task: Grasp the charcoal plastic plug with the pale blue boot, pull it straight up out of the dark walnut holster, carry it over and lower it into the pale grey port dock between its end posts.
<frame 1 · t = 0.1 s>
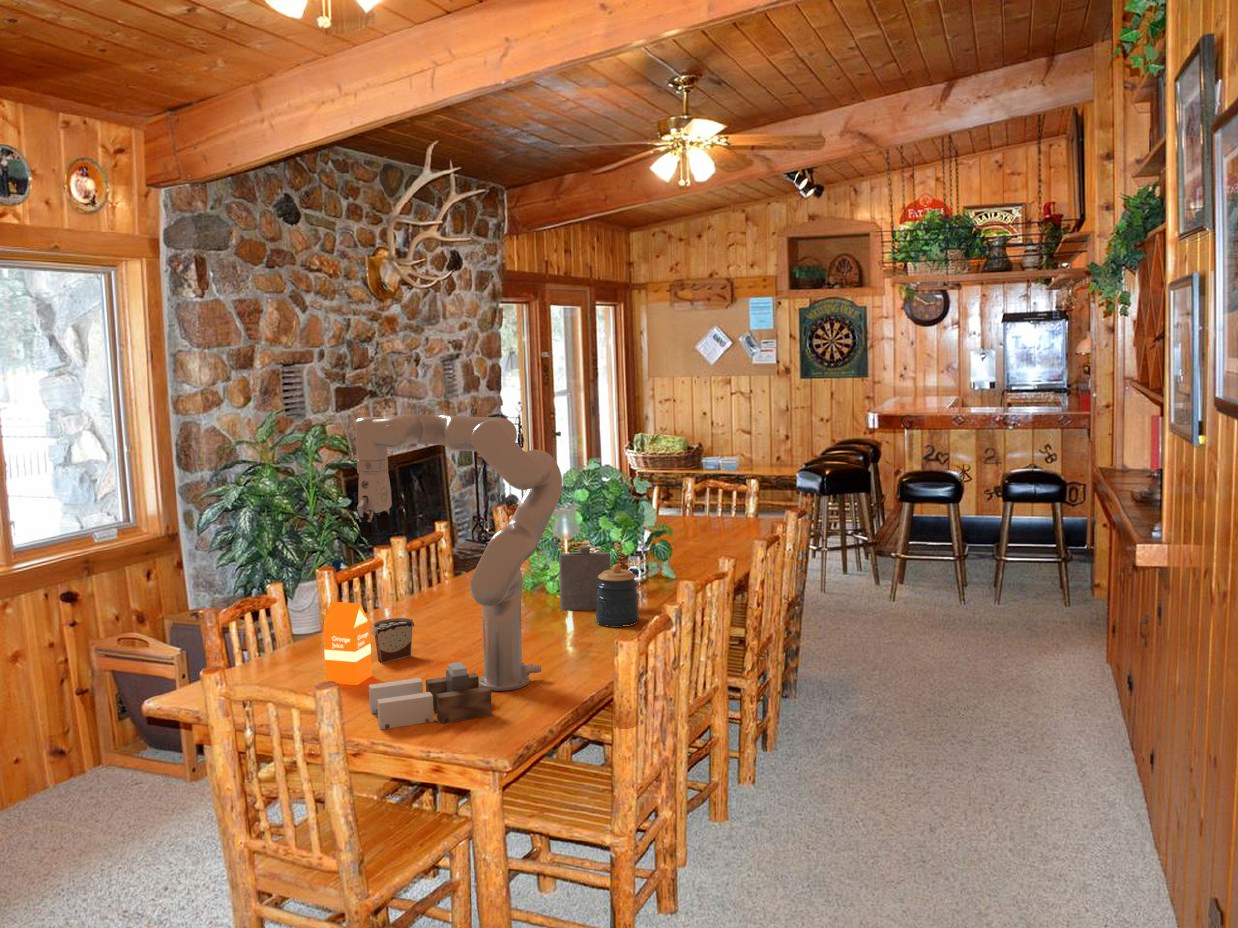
hand: (375, 533, 277), 37 cm above the table, tool pointing down, fingers open, 9 cm apart
hip flask: (585, 609, 345), on the table
canister: (617, 622, 329), on the table
orange juice: (349, 679, 280), on the table
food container: (390, 658, 298), on the table
holster: (458, 709, 256), on the table
plug: (458, 709, 256), resting in holster
dock: (401, 715, 253), on the table
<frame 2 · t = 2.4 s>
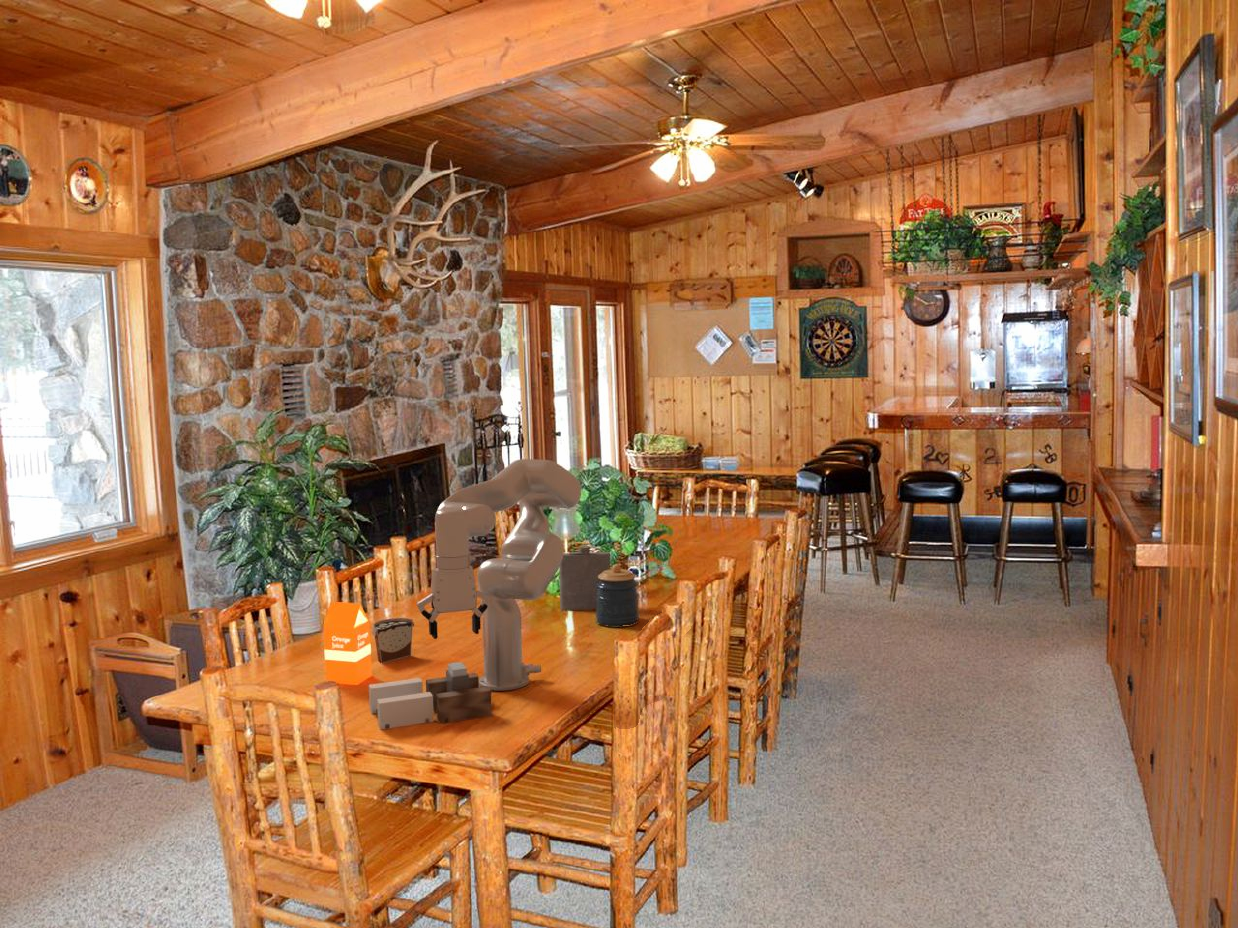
hand: (455, 635, 254), 18 cm above the table, tool pointing down, fingers open, 9 cm apart
nothing on the table moved.
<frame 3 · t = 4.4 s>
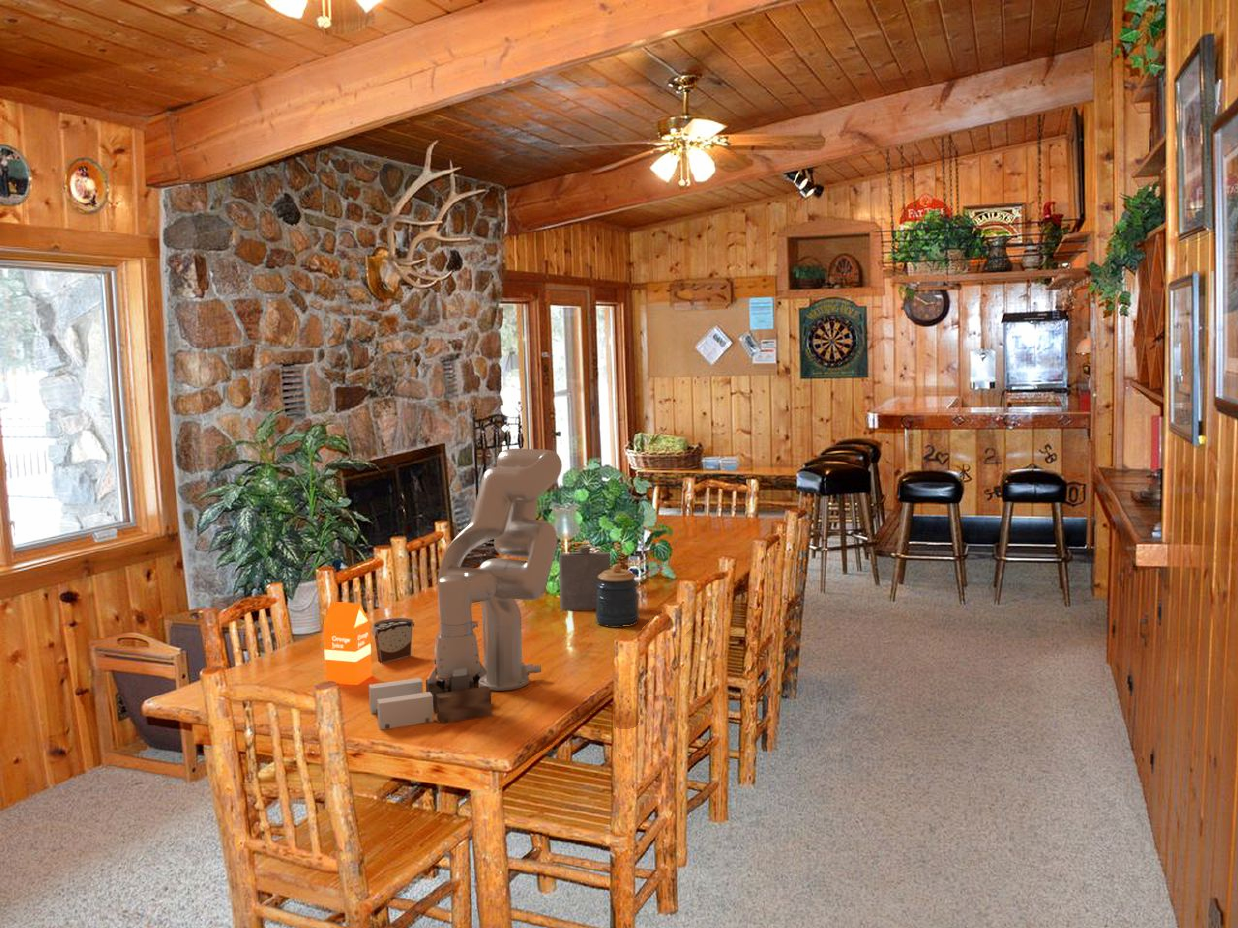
hand: (458, 704, 256), 1 cm above the table, tool pointing down, fingers closed on plug, 4 cm apart
plug: (458, 709, 256), resting in holster, touching gripper
everything else where it was.
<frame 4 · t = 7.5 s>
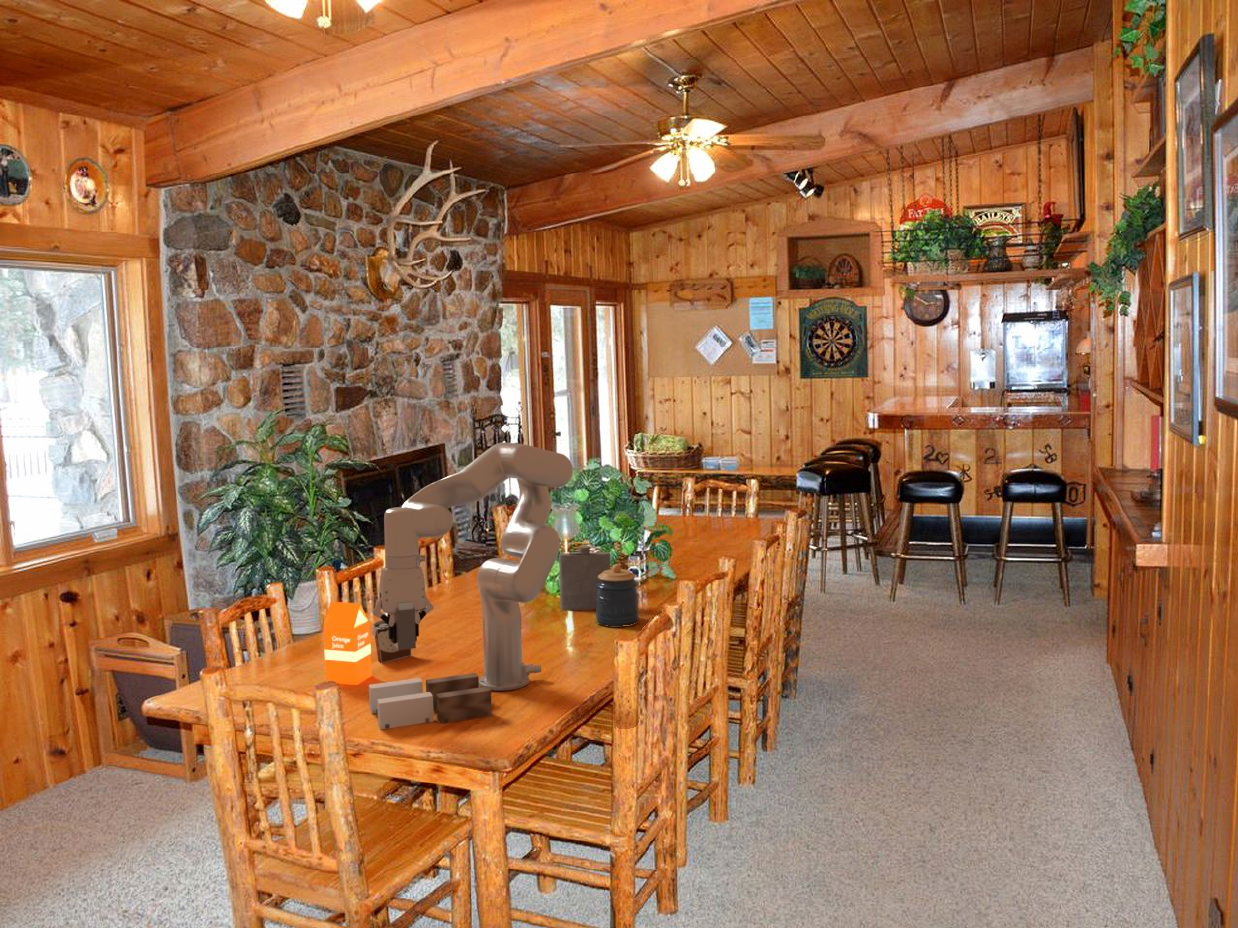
hand: (403, 640, 251), 18 cm above the table, tool pointing down, fingers closed on plug, 4 cm apart
plug: (404, 645, 251), point 17 cm above the table, touching gripper
everything else where it was.
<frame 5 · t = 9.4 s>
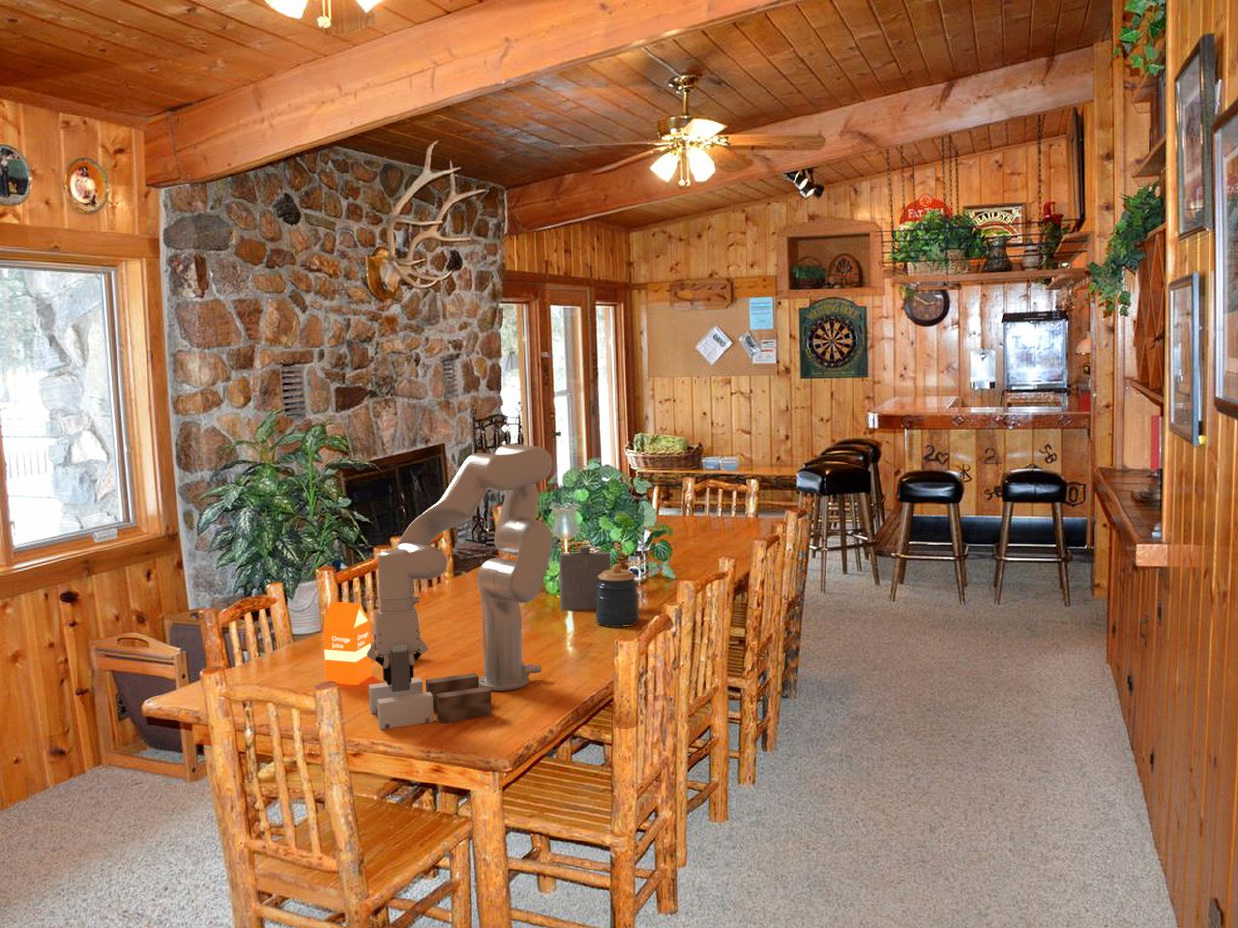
hand: (398, 681, 252), 8 cm above the table, tool pointing down, fingers closed on plug, 4 cm apart
plug: (398, 686, 252), point 7 cm above the table, touching gripper
everything else where it was.
when the fingers open (3 cm above the table, at t = 10.8 s): plug drops 1 cm, resting in dock.
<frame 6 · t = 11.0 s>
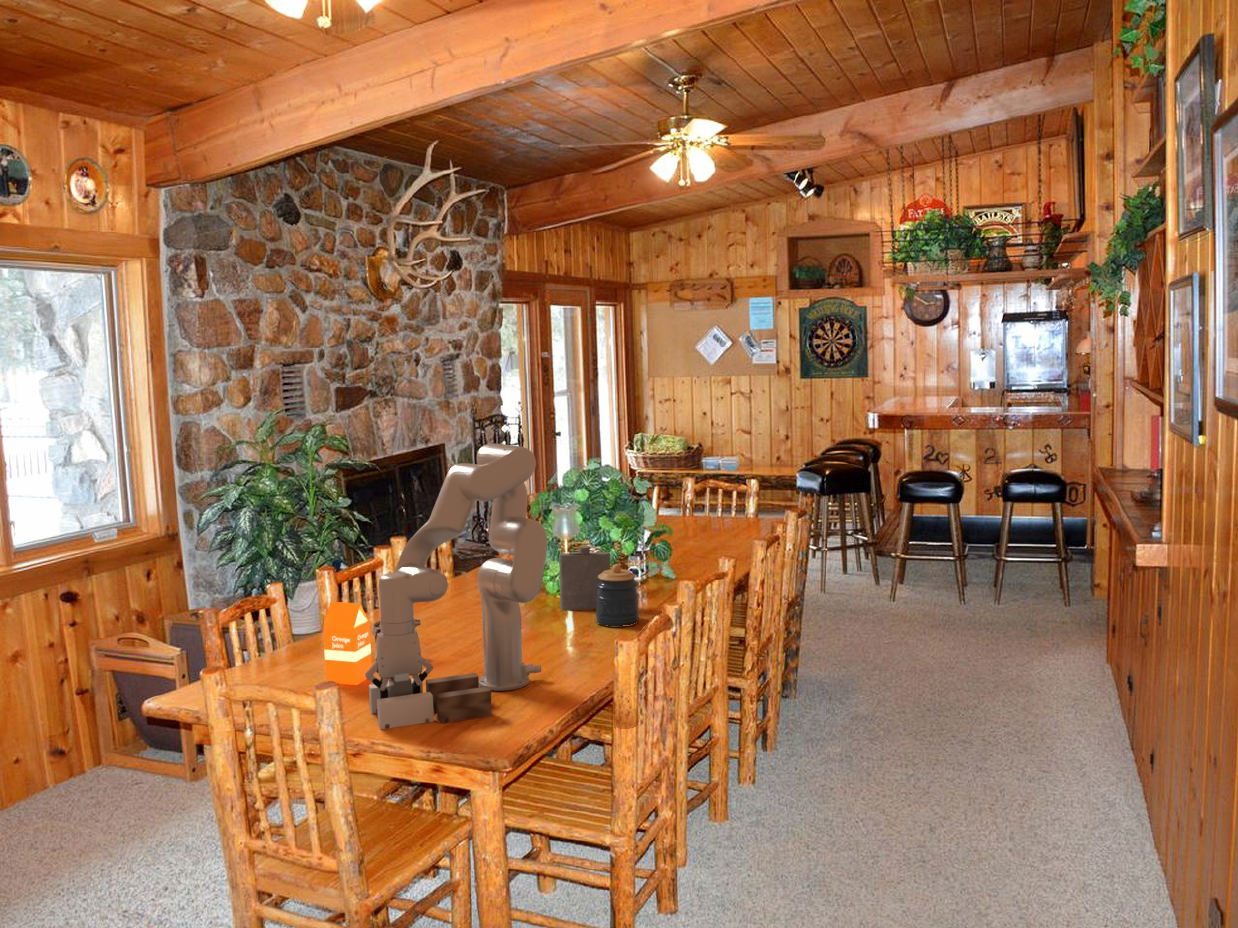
hand: (400, 702, 253), 3 cm above the table, tool pointing down, fingers open, 6 cm apart
plug: (401, 715, 253), resting in dock
everything else where it was.
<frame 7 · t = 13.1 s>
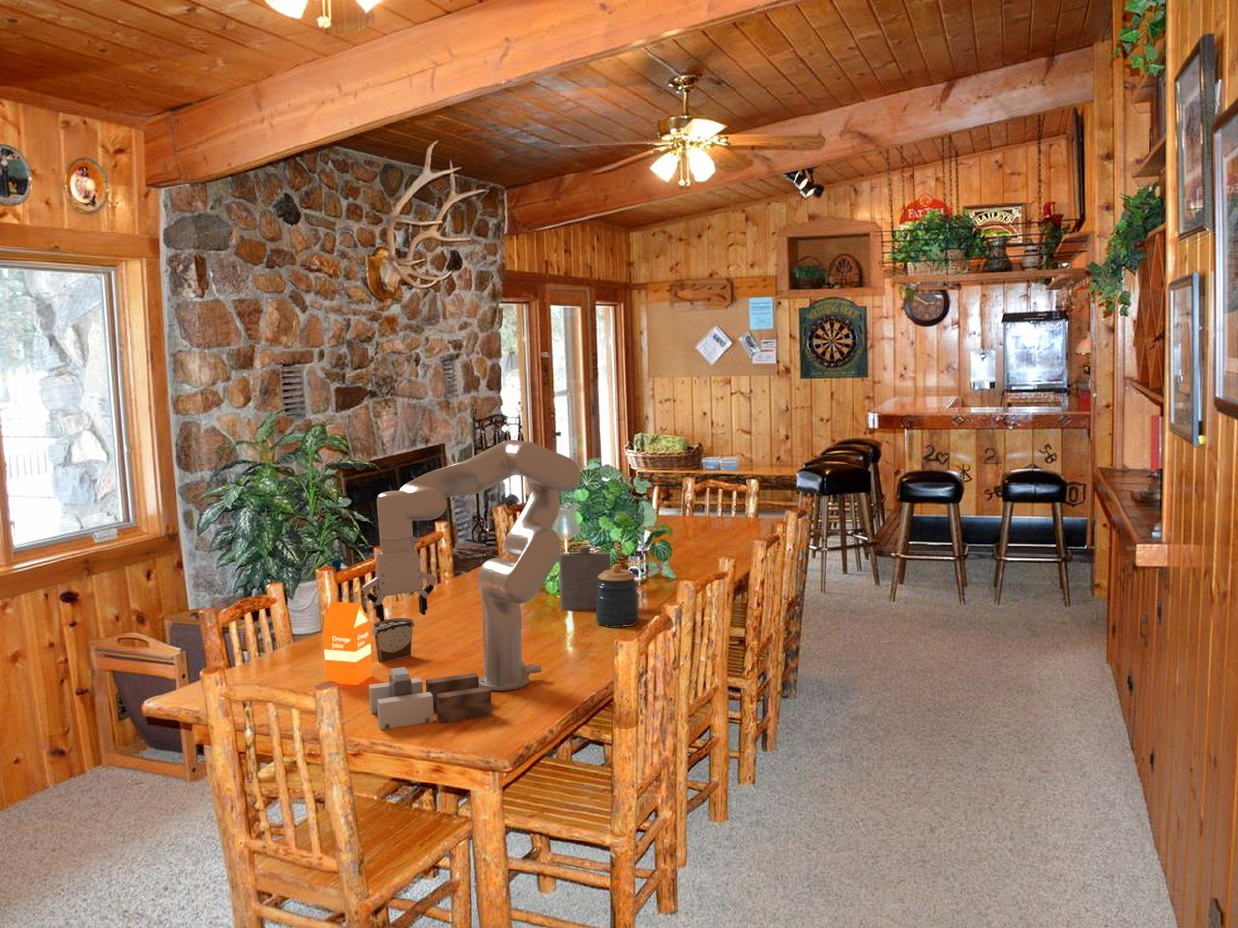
hand: (402, 616, 255), 22 cm above the table, tool pointing down, fingers open, 9 cm apart
nothing on the table moved.
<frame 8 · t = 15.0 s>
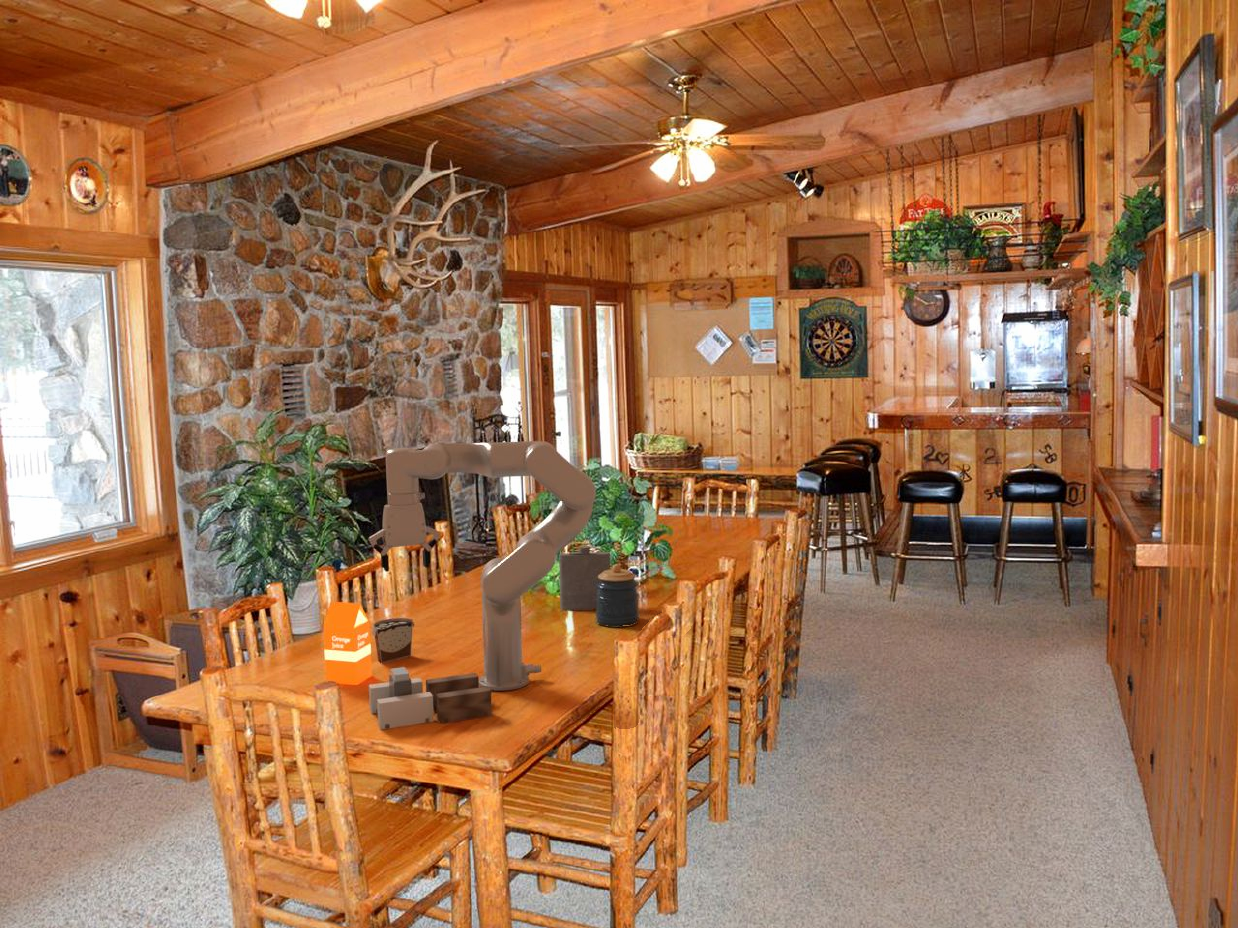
hand: (406, 568, 268), 30 cm above the table, tool pointing down, fingers open, 9 cm apart
nothing on the table moved.
at the end: plug 0.1 cm off-centre on the dock, point 0.0 cm above the dock's base; plug tilted 0°; the gripper is holding nothing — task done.
